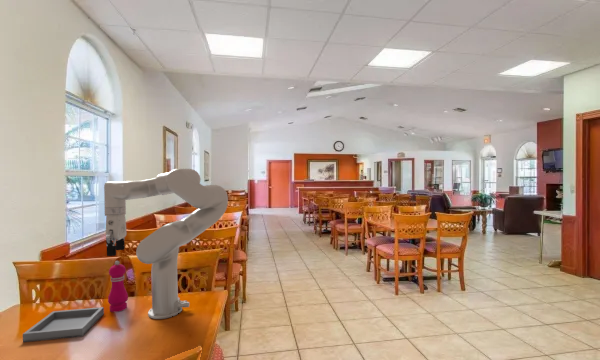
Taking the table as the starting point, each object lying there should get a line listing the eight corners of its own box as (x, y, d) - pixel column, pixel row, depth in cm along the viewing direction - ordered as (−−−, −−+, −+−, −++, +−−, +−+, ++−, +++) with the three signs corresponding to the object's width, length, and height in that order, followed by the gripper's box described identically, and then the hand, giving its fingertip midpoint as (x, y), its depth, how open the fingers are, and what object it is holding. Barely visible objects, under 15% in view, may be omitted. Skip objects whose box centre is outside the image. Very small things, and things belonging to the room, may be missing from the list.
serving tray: (103, 313, 129) (103, 307, 129) (82, 336, 111) (82, 328, 111) (53, 318, 126) (52, 311, 126) (22, 342, 108) (22, 334, 108)
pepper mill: (119, 313, 130) (118, 263, 129) (104, 312, 131) (102, 262, 130) (132, 305, 137) (131, 258, 136) (117, 304, 138) (116, 258, 138)
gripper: (117, 213, 125) (118, 257, 125) (131, 208, 142) (132, 247, 142) (96, 214, 124) (97, 258, 124) (113, 209, 141) (114, 248, 141)
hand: (116, 252), depth 133 cm, fingers open, 9 cm apart
